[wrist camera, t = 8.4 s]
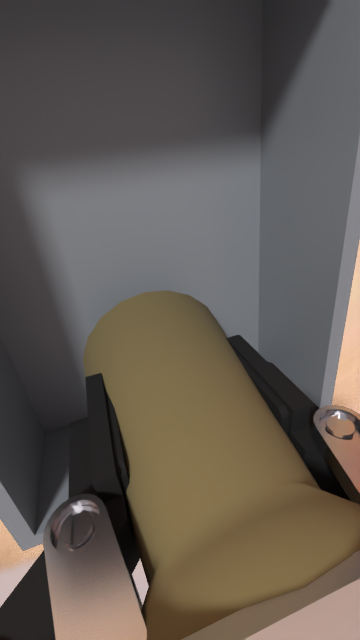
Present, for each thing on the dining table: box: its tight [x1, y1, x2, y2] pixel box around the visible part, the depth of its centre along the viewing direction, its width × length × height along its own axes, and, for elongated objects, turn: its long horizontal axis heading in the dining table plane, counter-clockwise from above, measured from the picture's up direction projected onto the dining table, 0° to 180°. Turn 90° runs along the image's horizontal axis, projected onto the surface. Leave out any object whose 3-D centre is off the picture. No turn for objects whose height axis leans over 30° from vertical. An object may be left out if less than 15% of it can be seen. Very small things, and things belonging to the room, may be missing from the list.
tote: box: [0, 0, 360, 551], centre depth 11 cm, size 13×17×6 cm
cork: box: [83, 290, 360, 640], centre depth 8 cm, size 6×6×11 cm
